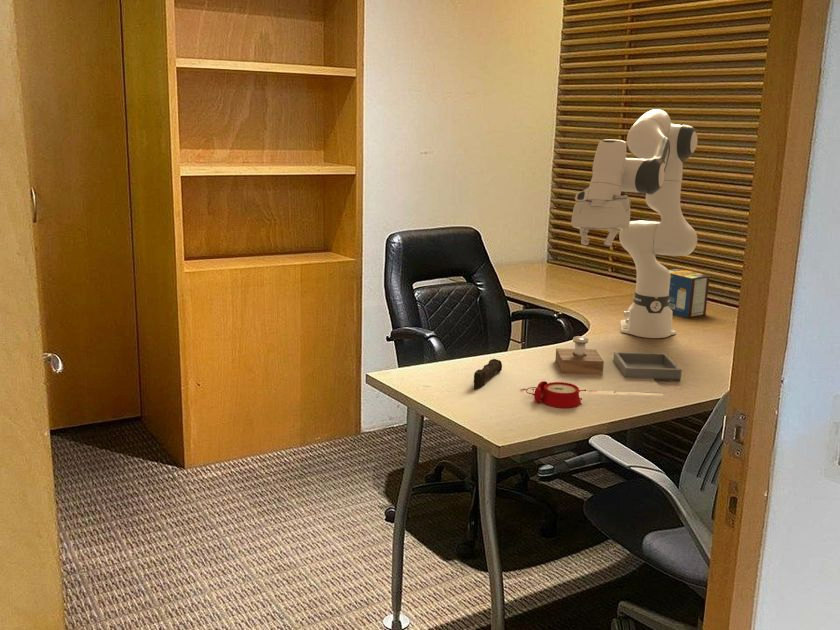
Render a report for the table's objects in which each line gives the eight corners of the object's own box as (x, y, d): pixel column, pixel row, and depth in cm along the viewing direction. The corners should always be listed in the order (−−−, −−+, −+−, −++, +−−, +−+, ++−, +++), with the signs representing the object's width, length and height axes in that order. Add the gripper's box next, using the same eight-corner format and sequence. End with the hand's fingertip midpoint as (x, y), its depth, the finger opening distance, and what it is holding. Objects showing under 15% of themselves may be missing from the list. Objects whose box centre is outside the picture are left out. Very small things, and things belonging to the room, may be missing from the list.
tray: (612, 362, 253) (613, 352, 252) (665, 364, 253) (666, 353, 252) (624, 379, 237) (625, 368, 236) (680, 381, 237) (681, 369, 236)
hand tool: (489, 370, 243) (489, 355, 242) (502, 372, 241) (502, 357, 240) (464, 389, 226) (465, 373, 225) (478, 391, 225) (478, 375, 224)
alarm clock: (582, 398, 211) (527, 378, 215) (575, 420, 213) (520, 400, 216) (588, 386, 220) (535, 367, 224) (581, 406, 222) (529, 388, 226)
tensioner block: (555, 363, 251) (556, 348, 250) (594, 364, 251) (595, 349, 250) (561, 375, 239) (562, 360, 238) (602, 377, 239) (603, 361, 238)
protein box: (674, 306, 328) (678, 268, 324) (706, 315, 316) (710, 275, 312) (656, 309, 323) (660, 270, 319) (687, 318, 310) (692, 277, 306)
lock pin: (569, 364, 247) (572, 336, 245) (584, 365, 247) (586, 336, 245) (572, 369, 243) (574, 340, 240) (587, 369, 243) (589, 340, 240)
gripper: (639, 197, 223) (631, 247, 224) (587, 199, 241) (580, 245, 241) (622, 192, 220) (614, 243, 220) (571, 194, 238) (564, 242, 238)
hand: (596, 244), depth 231 cm, fingers open, 8 cm apart
